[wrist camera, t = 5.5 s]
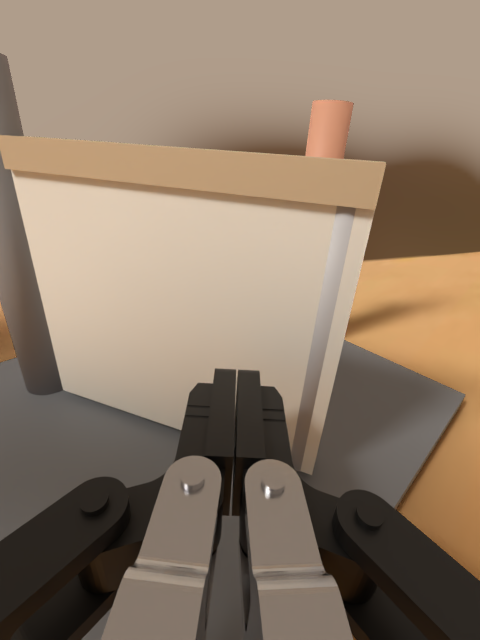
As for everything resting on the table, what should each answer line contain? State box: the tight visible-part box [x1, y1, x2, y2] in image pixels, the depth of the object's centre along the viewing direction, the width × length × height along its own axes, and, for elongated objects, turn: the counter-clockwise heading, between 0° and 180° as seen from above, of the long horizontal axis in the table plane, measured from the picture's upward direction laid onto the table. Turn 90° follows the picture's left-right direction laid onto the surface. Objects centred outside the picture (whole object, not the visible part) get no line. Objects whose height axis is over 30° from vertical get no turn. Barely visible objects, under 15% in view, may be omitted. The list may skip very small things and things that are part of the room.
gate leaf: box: [0, 135, 386, 475], centre depth 15 cm, size 14×2×13 cm, turn 70°
